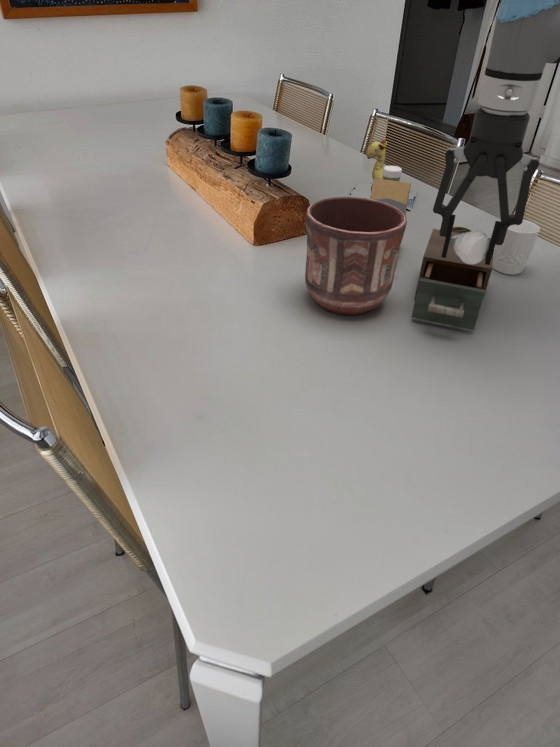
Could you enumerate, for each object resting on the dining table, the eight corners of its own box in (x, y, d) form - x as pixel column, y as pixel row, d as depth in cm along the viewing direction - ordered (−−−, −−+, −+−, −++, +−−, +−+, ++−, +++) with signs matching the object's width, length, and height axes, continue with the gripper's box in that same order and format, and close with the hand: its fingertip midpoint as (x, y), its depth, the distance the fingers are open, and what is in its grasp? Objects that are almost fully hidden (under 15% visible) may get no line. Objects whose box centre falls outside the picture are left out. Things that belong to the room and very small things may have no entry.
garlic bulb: (461, 248, 95) (469, 218, 92) (487, 262, 91) (496, 231, 88) (438, 254, 93) (445, 224, 90) (463, 269, 89) (471, 237, 86)
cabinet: (478, 313, 106) (492, 269, 100) (413, 300, 109) (423, 256, 103) (483, 281, 117) (495, 239, 111) (424, 270, 120) (433, 228, 114)
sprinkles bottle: (397, 221, 141) (406, 168, 133) (384, 225, 139) (392, 171, 131) (384, 215, 144) (393, 163, 136) (372, 219, 142) (379, 166, 134)
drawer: (472, 342, 96) (483, 304, 91) (407, 328, 99) (415, 290, 94) (478, 296, 109) (488, 261, 105) (421, 285, 112) (429, 250, 107)
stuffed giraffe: (357, 183, 164) (365, 127, 153) (417, 194, 160) (429, 137, 150) (345, 203, 152) (353, 144, 142) (409, 215, 148) (422, 155, 138)
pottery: (324, 332, 99) (334, 238, 88) (287, 287, 111) (291, 201, 100) (407, 315, 104) (426, 226, 93) (363, 274, 117) (375, 191, 106)
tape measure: (450, 253, 127) (454, 238, 125) (438, 240, 133) (441, 226, 130) (477, 251, 129) (481, 236, 126) (464, 239, 134) (467, 225, 132)
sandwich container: (355, 268, 119) (364, 201, 110) (364, 240, 131) (372, 177, 122) (395, 273, 118) (407, 206, 109) (400, 245, 130) (411, 182, 121)
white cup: (523, 279, 118) (538, 235, 112) (486, 271, 120) (499, 228, 114) (526, 265, 124) (541, 222, 118) (491, 257, 126) (503, 215, 120)
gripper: (432, 108, 77) (405, 257, 91) (578, 122, 73) (526, 277, 87) (437, 98, 83) (411, 240, 97) (574, 111, 78) (525, 258, 92)
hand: (465, 257), depth 92 cm, fingers closed on garlic bulb, 6 cm apart
